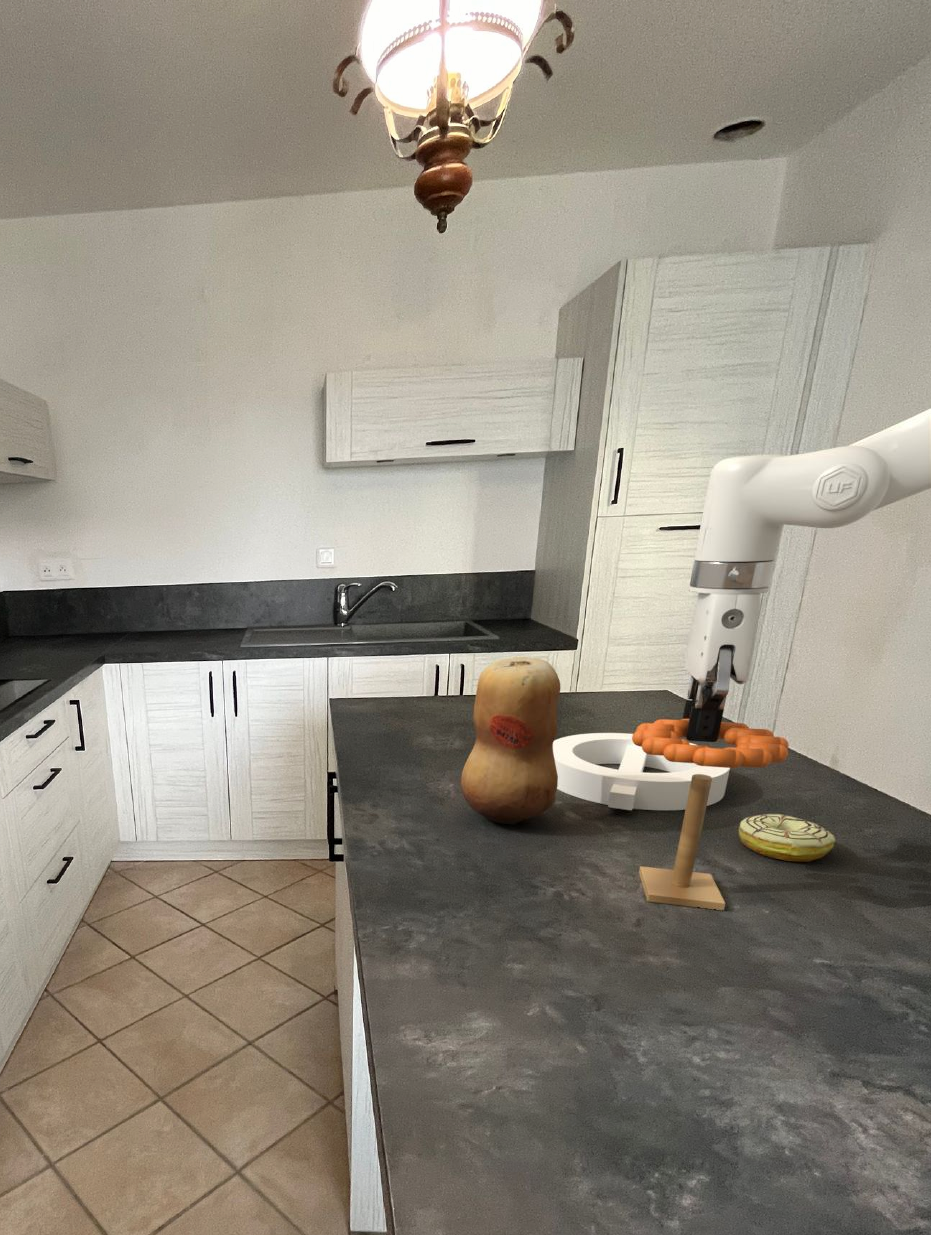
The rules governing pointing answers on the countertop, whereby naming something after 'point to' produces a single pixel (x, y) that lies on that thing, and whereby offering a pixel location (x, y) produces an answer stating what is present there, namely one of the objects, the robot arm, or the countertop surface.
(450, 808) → the countertop surface
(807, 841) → the decorated donut
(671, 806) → the white circle with bar
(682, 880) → the post
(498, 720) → the butternut squash
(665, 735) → the ring
